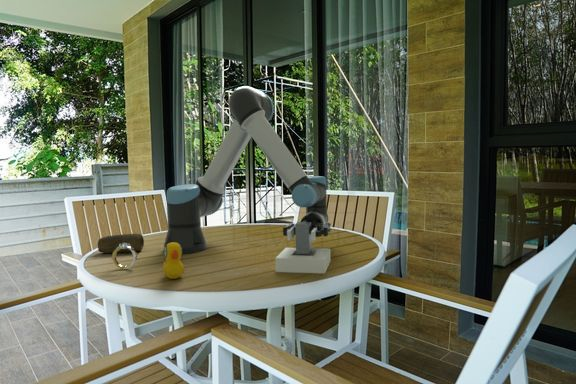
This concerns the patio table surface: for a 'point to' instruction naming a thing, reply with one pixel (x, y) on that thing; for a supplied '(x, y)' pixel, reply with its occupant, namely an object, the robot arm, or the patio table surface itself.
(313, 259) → the well block
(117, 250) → the ring
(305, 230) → the tall dark grey pillar
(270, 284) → the patio table surface
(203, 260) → the patio table surface
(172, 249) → the duckling
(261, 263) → the patio table surface
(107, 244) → the stone weight
